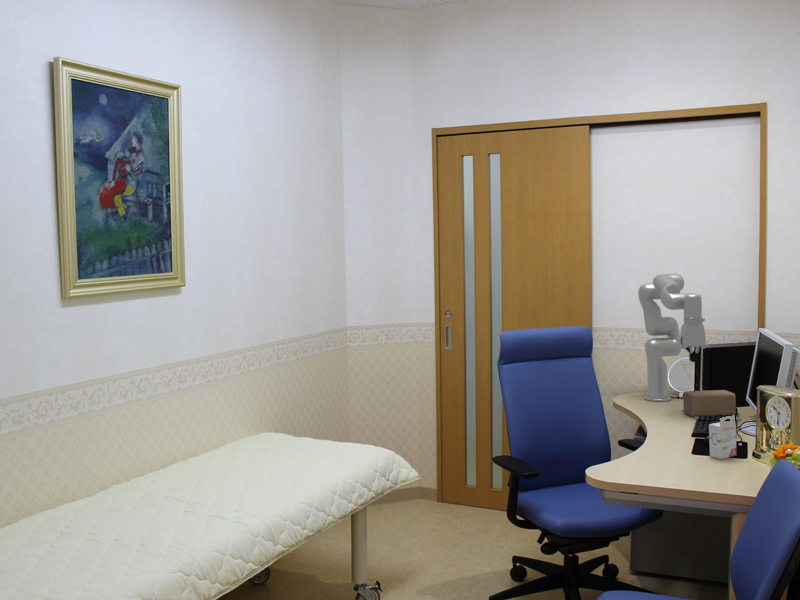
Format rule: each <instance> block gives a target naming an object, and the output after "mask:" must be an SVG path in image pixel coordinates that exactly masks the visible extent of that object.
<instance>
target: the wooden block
mask: <svg viewBox="0 0 800 600" xmlns="http://www.w3.org/2000/svg"><path fill="white" fill-rule="evenodd" d="M682 395H683V410H684V412H685V414H686V413H687V414H686V415H688V414H689V415H691V416H716V415H734V416H736V415H737V414H736V413H737V409H736V408H737V402H736V401H737V400H736V397H737V396H736V394H735V393H734V392H731V391H730V390H729V391H728V390H726V389H718V390H717V389H715V390H710V389H709V390H686V391H683V394H682ZM684 412H683V413H684ZM689 415H688V416H689ZM691 416H690V417H691Z"/></svg>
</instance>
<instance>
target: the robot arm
mask: <svg viewBox="0 0 800 600" xmlns="http://www.w3.org/2000/svg"><path fill="white" fill-rule="evenodd" d="M684 286H685V279H684V277H683V276H682V275H681V274H679V273H661V274H658V275H656V276H654V278H653V279H652V282H651V283H644V284H642V285H640V287H639V288H638V292H637V293H638V295H637V296H638V300H639V303H640V305H641V308H642V311H643V312H642V313H643V319H644V327H645V332H646V334H647V335H648V336H653V337H654V336H655V337H654V338H649V339H648V340H646V341H645V343H644V351H645V355H646V364H647V365H646V368H647V369H646V373H647V395H645V396H644V400H646V401H650V402H669V401H671V400H672V397H671V396H669V395H668V364H667V363H666V361H665V360H664V357H677V356H679V355H680V354H681V352H682V350H685V351H687V352H688V353H689V361H690V362H691V363H697V361H698V354H699V352H700V351H701V350H704V349H706V348H707V347H706V343H707V342H706V339H707V338H706V332H705V325H704V324H703V323H704V322H706V318H703V314H702V313H703V312H702V311H703V310H702V305H703V304H702V301H703V300H702V299H703V298H702V296H701V294H698V293H693V292H686V293H685V292H682V293H681V291H682V290H683V289H684ZM655 300H660V302H661V304H662V305H663V306H664V307H665V308H666V309H667V310H670V311H671V310H672V311H673V310H674V311H675V310H676V311H677V310H683V324H681V327H680V328H679V323H678V321H677V319H675V318H674V317H671V316H663V315H662V311H661V307H660V305H659V304H658V303H657V302H656V301H655ZM657 336H662V337H657ZM663 336H667V337H663Z"/></svg>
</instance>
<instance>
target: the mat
mask: <svg viewBox="0 0 800 600" xmlns="http://www.w3.org/2000/svg"><path fill="white" fill-rule="evenodd" d="M681 412H683V414H684V413H685V412H684V409H681ZM685 414H686V415H688V416H689V417H691V418H693V419H694V420H696V421H698V420H697V419H698V418H699V416H691V415H689V414H687V413H685ZM736 420H737V421H742V418H740V417H738V416H736Z"/></svg>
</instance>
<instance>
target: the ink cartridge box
mask: <svg viewBox="0 0 800 600" xmlns="http://www.w3.org/2000/svg"><path fill="white" fill-rule="evenodd" d="M735 416H736V415H732V416H726V417H722V418H720V419H719V420H720V421H718V422H715V423H710V424H708V437H709V438H708V439H709V442H708V443H709V457H710V458H711V457H712V458H716V459H719V460H723V459H724V460H725V459H728V458H731V457H734V456H737V426H736V425H737V424H736V421H735ZM727 419H730V421H725V420H727Z"/></svg>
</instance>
